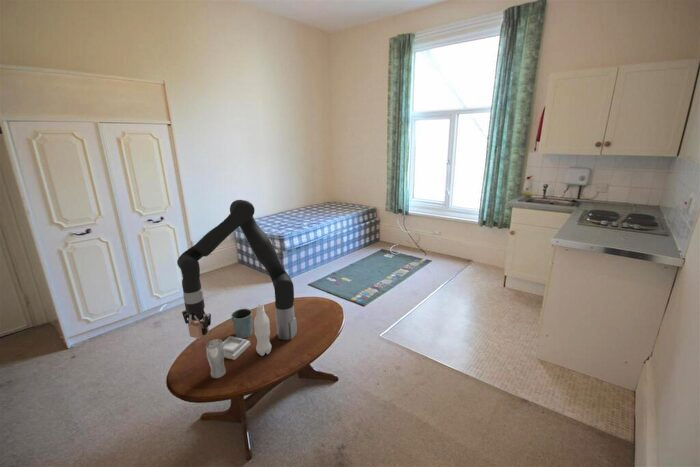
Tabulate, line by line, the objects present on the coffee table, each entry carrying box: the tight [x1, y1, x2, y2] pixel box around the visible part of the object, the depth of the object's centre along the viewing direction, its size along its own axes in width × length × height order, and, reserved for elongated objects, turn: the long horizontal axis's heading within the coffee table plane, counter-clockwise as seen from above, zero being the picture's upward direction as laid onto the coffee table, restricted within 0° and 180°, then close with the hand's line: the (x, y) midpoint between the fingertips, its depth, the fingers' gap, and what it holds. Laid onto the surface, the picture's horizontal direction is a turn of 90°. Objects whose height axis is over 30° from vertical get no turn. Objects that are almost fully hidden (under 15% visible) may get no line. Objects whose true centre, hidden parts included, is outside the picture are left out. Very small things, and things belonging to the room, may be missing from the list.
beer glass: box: [205, 338, 227, 379], centre depth 136 cm, size 7×7×15 cm
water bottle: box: [253, 303, 272, 357], centre depth 148 cm, size 7×7×25 cm
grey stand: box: [222, 335, 251, 361], centre depth 154 cm, size 12×12×4 cm
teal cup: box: [230, 308, 254, 339], centre depth 165 cm, size 10×10×12 cm
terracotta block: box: [187, 319, 210, 340], centre depth 141 cm, size 6×6×6 cm
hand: (199, 332), depth 141 cm, fingers closed on terracotta block, 5 cm apart
